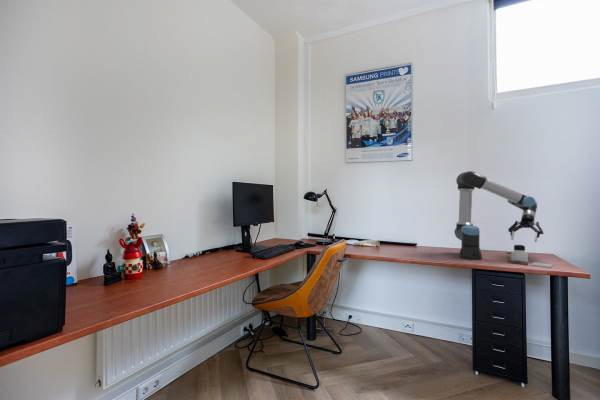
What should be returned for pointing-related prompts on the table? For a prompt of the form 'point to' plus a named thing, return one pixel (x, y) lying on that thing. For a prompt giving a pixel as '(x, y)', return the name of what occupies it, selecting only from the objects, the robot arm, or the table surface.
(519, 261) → the walnut stop
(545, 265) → the grey mat
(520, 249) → the medicine bottle
